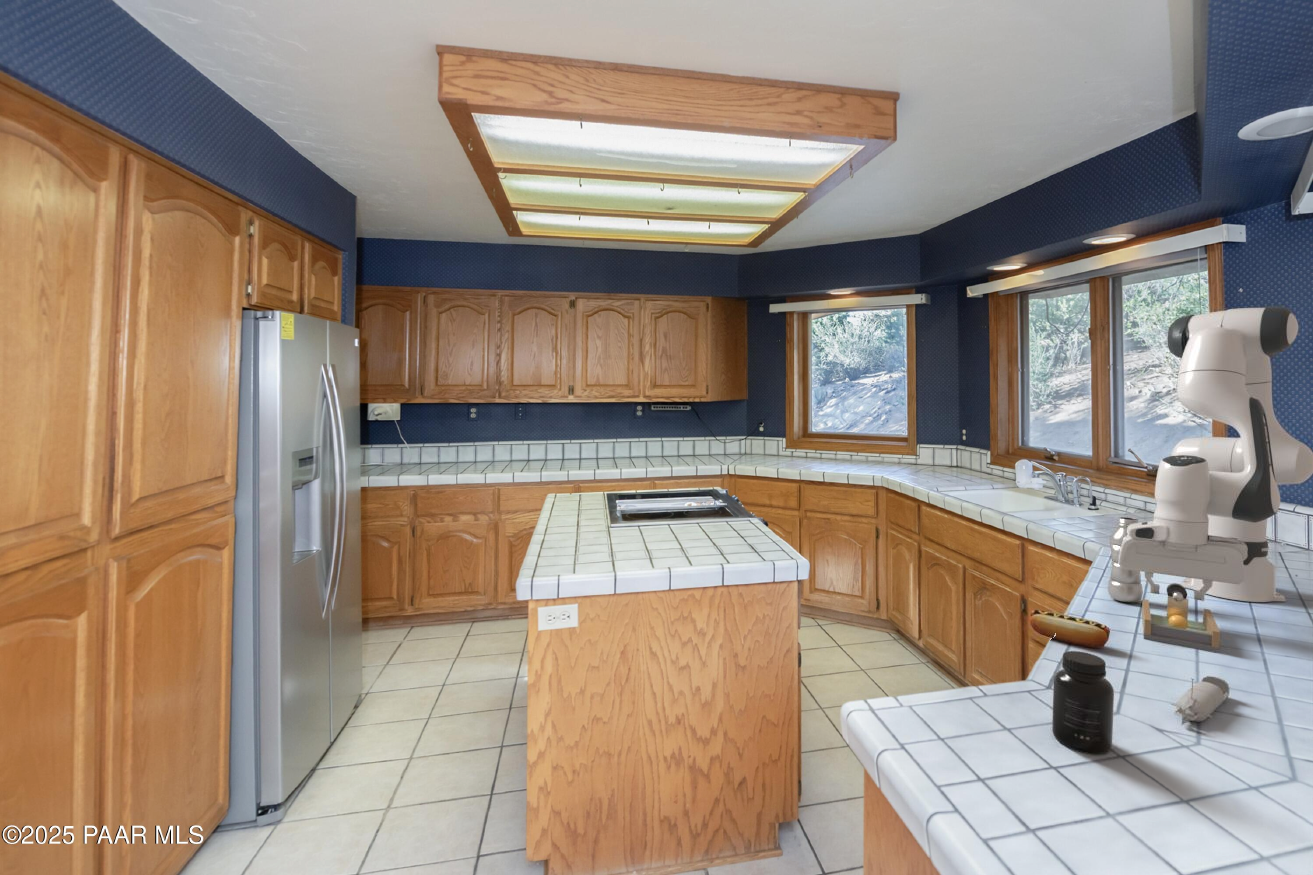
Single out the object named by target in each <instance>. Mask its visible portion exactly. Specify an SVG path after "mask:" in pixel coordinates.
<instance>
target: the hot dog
mask: <svg viewBox="0 0 1313 875" xmlns="http://www.w3.org/2000/svg"><path fill="white" fill-rule="evenodd" d="M1029 624H1030V626H1031V628H1032V629H1033V630H1034V631H1035V632H1036V633H1038V634H1039V635H1040V636H1044V637H1048V638H1050V639H1053V637H1054V635H1055V633H1056V636H1055V637H1054V640H1058V641H1060V642H1064V643H1070V644H1072V645H1076V646H1083V647H1089V648H1093V649H1094V648H1103V647H1104V646H1105V645H1106V644H1107V642H1108V641H1109V638H1110V633H1111V629H1110V628H1109V627H1108V626H1107V625H1105V624H1103V623H1099V622H1098V621H1094V620H1090V619H1085V618H1081V617H1077V616H1073V615H1067V614H1064V613H1059V612H1053V611H1048V610H1037V609H1034V610H1031V612H1030V618H1029Z"/></svg>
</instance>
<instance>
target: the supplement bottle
mask: <svg viewBox="0 0 1313 875" xmlns="http://www.w3.org/2000/svg"><path fill="white" fill-rule="evenodd" d="M1061 667H1062V668H1063V669H1060V670H1058V671H1057V672H1056V673H1055V674H1054V675H1053V676H1054V677H1053V689H1052V692H1053V694H1052V695H1053V697H1052V720H1051V721H1052V727H1051V728H1052V729H1051V730H1052V735H1053V736H1054V738H1055V739H1056V740H1057V741H1058V742H1059V743H1060V744H1062V745H1064V747H1065V746H1066V747H1067V748H1069V749H1072V750H1074V751H1078V752H1081V753H1085V754H1090V755H1103V754H1107V753H1109V752H1110V751H1111V749H1112V746H1113V733H1114V732H1113V731H1114V730H1113V729H1114V705H1115V704H1114V700H1115V691H1114V687H1113V685H1112V684H1111V683H1110V681H1109V680H1108V679H1106V676H1107V671H1106V661H1105V660H1104V659H1103V658H1102V657H1100V656H1098V655H1096V654H1092V653H1088V652H1084V651H1079V650H1078V651H1077V650H1068V651H1065V652H1063V654H1062V662H1061Z"/></svg>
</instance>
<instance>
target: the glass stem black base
mask: <svg viewBox="0 0 1313 875" xmlns="http://www.w3.org/2000/svg"><path fill="white" fill-rule="evenodd" d="M1186 589H1187V588H1185V587H1183V586H1182V585H1181V583H1176V582H1175V583H1170V584H1168V585H1167V586H1166V594H1167V602H1166V603H1167V604H1166V605H1167V606H1166V616H1167V621H1168V622H1169V618H1170V617H1171V616H1174V615H1179V616H1182V617H1184V618H1185V619H1186V620H1189V619H1188V618H1189V616H1188V615H1189V601H1190V600H1189V598H1188V597H1187V596H1188V592H1187V590H1186Z"/></svg>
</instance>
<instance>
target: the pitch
mask: <svg viewBox="0 0 1313 875" xmlns="http://www.w3.org/2000/svg"><path fill="white" fill-rule="evenodd" d="M1141 603H1142V605H1141V621H1142V622H1141V623H1142V634H1143V639H1144V640H1148V641H1153V642H1154V641H1155V642H1158V643H1164V644H1169V643H1170V644H1169V645H1175V646H1179V645H1180V647H1185V646H1186V648H1191V649H1196V650H1201V651H1206V650H1207V652H1211V651H1213V652H1212V653H1216V652H1217V653H1218V654H1219V653H1220V639H1221V638H1220V636H1221V632H1220V629H1219V627H1218V625H1217V624H1218V623H1216V620H1215V619H1214V615H1213V613H1212V611H1211V609H1210V608H1208V609H1207V608H1203V615H1202V621H1197V620H1190V619H1188V620H1187V622H1188V627H1187V628H1186V629H1181V628H1176V627H1171V626H1170V625H1169V622H1168V621H1167V615H1161V614H1154V613H1151V609H1150V608H1151V607H1150V601H1149V599H1144V598H1142V602H1141Z"/></svg>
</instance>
